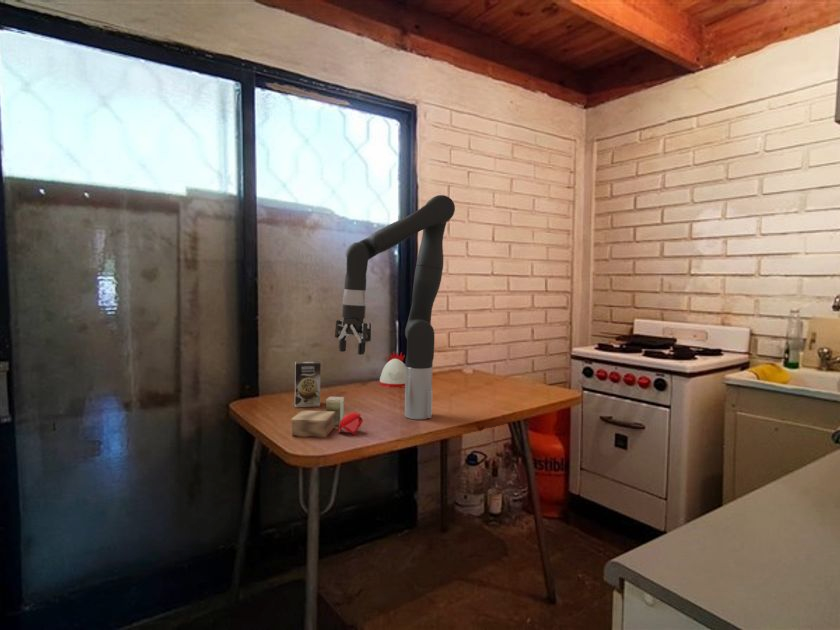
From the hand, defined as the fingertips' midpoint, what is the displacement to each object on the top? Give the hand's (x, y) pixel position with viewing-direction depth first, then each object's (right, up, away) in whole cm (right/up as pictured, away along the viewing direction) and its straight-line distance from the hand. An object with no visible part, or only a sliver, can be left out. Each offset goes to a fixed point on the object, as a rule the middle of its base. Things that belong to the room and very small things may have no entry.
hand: (351, 352), depth 163 cm
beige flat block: (-10, -23, -13) cm, 28 cm away
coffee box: (-19, -21, +20) cm, 35 cm away
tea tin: (-5, -23, -3) cm, 23 cm away
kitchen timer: (+11, -19, +60) cm, 64 cm away
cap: (+2, -23, -13) cm, 27 cm away
